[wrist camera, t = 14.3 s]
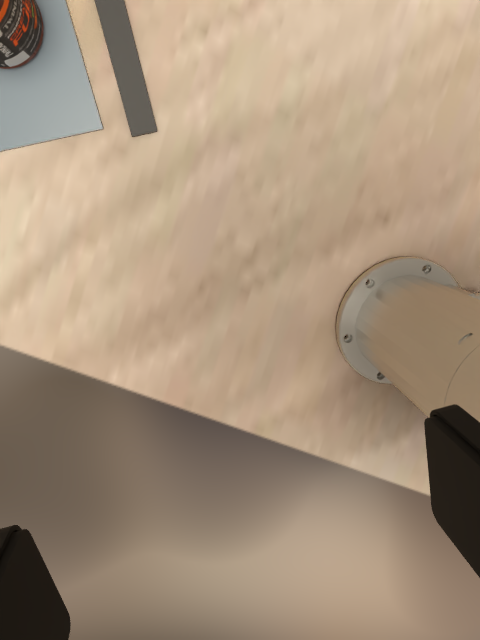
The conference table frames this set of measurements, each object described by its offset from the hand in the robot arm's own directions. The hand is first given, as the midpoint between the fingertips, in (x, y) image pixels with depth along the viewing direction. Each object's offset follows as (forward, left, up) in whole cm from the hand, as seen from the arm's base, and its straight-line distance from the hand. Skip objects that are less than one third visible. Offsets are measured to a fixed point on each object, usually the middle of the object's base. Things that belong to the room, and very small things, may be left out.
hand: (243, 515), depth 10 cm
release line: (+1, -20, -30) cm, 36 cm away
